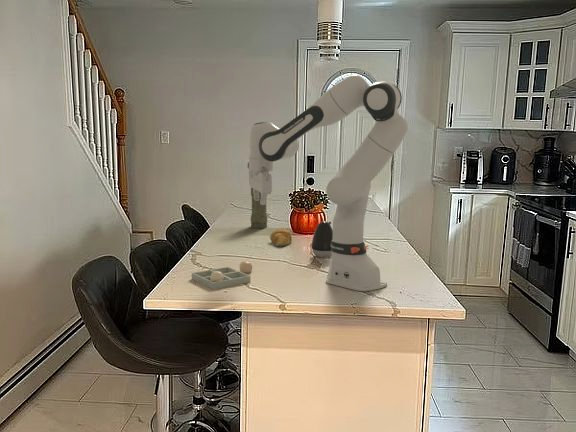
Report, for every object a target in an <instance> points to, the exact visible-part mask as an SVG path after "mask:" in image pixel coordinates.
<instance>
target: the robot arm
mask: <svg viewBox="0 0 576 432" xmlns="http://www.w3.org/2000/svg"><path fill="white" fill-rule="evenodd" d="M402 100H403V99H402V92H401V90H400V89H399V87H398V86H396V85H395V84H394V83H391V82H388V81H377V82H374V83H372V84H369V83H368V82H367V81H366V80H365V78H363V77H362V76H361V75H358V74H352V75H349V76H347V77H346V78H343V79H342V80H340V81H339V82H337V83H335V84H334V85H333V86H332V87H330V88H328V90H326V91H325V92H324V93H323V94H322V95H321V96H320V97H318V98H317V99H316V100H315V101H314V102H313V103H312V104H311V105H310V106H308V108H306V109H305V110H304V111H303V112H301V113H300V114H299V115H297V116H296V117H295V118H293V119H292V120H290V121H289V122H287V123H286V124H284V125H283V126H282V127H277V126H276V125H275V124H274V123H273V122H272V121H260V122H256V123H254V124H253V125H252V126H251V129H250V134H249V135H250V136H249V150H250V153H249V157H248V162H247V169H248V183H249V188H250V189H251V188H253V193H254V200H255V201H259V192H260V193H261V200H260V204H261V205H265V204H266V205H267V197H268V195H271V194H272V192H273V191H272V190H273V189H272V187H273V186H272V185H273V181H272V179H273V177H272V174H271V173H270V172H273V167H274V166H273V165H274V162H277V161H279V160H285V159H290V158H292V157H294V156H295V155H296V154H297V152H298V151H299V139H300V138H301V137H303V136H304V135H305V134H307V133H308V132H310V131H313V130H314V129H318V128H321V127H327V126H332V125H334V124H336V123H338V122H340V121H342V120H343V119H345V118H347V117H348V116H349V115H350V114H352V113H353V112H354V111H356V110H357V109H359V108H360V107H364V108H365V110H366V111H367V112H368V114H369V115H370V116H371V118H372V119H373V120H374V121H375V123H374V125H373V126H372V128H371V129H370V131H369V132H368V134H367V135H366V137H364V139H363V140H362V142H361V143H360V144H359V146H358V147H357V149H356V150H355V152H354V153H353V154H352V155H351V157H350V158H348V160H347V161H346V162H345V163H344V164H343V165H342V166H341V167H340V169H339V170H338V171H337V173H336V174H335V175H334V176H333V177H332V178H331V179H330V180H329V181H328V183H327V185H326V191H325V192H326V196H327V198H328V200H329V201H330V202H332V203H333V204H335V205H336V209H335V212H334V213H335V214H334V216H333V219H332V230H333V239H332V241H331V251H332V255H331V256H330V259H329V264H328V265H329V266H328V273H327V275H326V281H325V283H327V284H328V285H329V284H330V285H333V286H338V287H342V288H345V289H350V290H352V291H357V292H368V291H369V292H370V291H375V290H380V289H382V288H384V287H387V285H388V282H387V281H385V280H383V279H381V271H380V268H379V266H378V265H377V263H376V262H374V260H373V259H372V257H370V256H369V255H368V253H367V250H369V247H370V245H366V244H365V241H364V233H365V231H364V228H365V226H364V225H365V216H366V211H367V207H368V200H369V195H370V191H371V187H372V184H371V183H372V181H373V180H375V178H376V177H377V176H378V175H379V174H380V173H381V172H382V171H383V169H384V168H385V166H387V164H388V162H389V161H390V159H391V158H392V157H393V156H394V154H395V153H396V152H397V150H398V148H399V146H400V145H401V144H402V141H403V140H404V138H405V136H406V134H407V131H408V129H409V126H408V125H409V124H408V122H407V120H406V119H405V118H404V116H402V115H400V113H399V111H398V109H399V108H400V106H401V103H402Z"/></svg>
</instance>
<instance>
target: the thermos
mask: <svg viewBox="0 0 576 432" xmlns="http://www.w3.org/2000/svg"><path fill="white" fill-rule="evenodd" d="M250 195H251V215H250V224H251V225H250V228H252V227H253V228H252V229H266V228H267V227H268V214H267V203H266V204H265V205H261V204H260V200H261V193H260V192H259V201H255V200H254V193H253V188H251V187H250ZM265 227H266V228H265Z"/></svg>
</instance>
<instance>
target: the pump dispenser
mask: <svg viewBox="0 0 576 432" xmlns="http://www.w3.org/2000/svg"><path fill="white" fill-rule="evenodd" d="M315 227H316V228H315V230H314V232H313V236H312V242H311V249H312V253H313V254H314V255H315V256H316V257H317V258H321V259H326V258H331V255H332V251H331V241H332V239H333V226H332V222H331V221H325V220H322V221H320V222H319V223H318V224H317V226H315Z"/></svg>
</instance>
